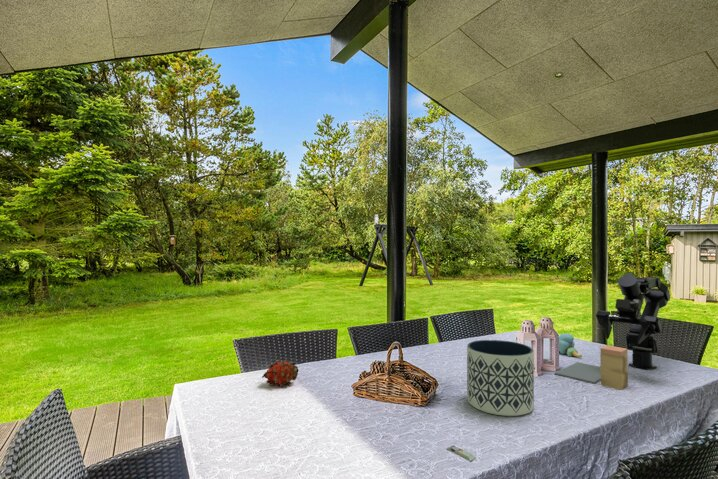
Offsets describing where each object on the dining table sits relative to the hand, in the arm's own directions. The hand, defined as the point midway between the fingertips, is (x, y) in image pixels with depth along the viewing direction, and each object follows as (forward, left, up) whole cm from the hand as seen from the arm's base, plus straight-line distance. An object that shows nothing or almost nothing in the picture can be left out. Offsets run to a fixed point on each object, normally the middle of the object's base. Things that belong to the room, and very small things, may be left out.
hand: (622, 340), depth 137 cm
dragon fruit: (+110, -37, -13) cm, 117 cm away
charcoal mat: (+5, -10, -13) cm, 17 cm away
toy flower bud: (-9, -29, -14) cm, 33 cm away
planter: (+54, +2, -13) cm, 55 cm away
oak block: (+8, +3, -13) cm, 16 cm away
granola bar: (+81, +21, -14) cm, 84 cm away
